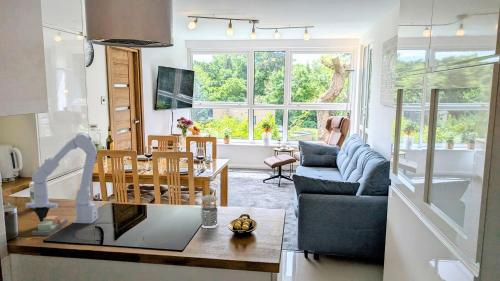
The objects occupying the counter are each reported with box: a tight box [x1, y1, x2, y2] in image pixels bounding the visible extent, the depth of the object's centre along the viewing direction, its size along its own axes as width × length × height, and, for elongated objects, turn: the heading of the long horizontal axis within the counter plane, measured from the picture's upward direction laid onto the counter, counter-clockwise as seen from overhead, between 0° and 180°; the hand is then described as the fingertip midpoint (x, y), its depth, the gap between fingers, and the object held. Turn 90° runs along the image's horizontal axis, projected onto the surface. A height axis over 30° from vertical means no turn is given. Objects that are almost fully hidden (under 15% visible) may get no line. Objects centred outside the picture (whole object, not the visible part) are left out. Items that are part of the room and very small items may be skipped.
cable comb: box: [31, 218, 68, 236], centre depth 166 cm, size 8×16×2 cm, turn 179°
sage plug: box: [37, 221, 53, 231], centre depth 163 cm, size 5×4×4 cm
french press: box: [200, 175, 219, 226], centre depth 171 cm, size 10×12×25 cm
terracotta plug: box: [43, 215, 59, 225], centre depth 169 cm, size 5×4×4 cm
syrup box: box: [28, 181, 35, 209], centre depth 194 cm, size 6×6×14 cm
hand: (43, 222), depth 170 cm, fingers closed
